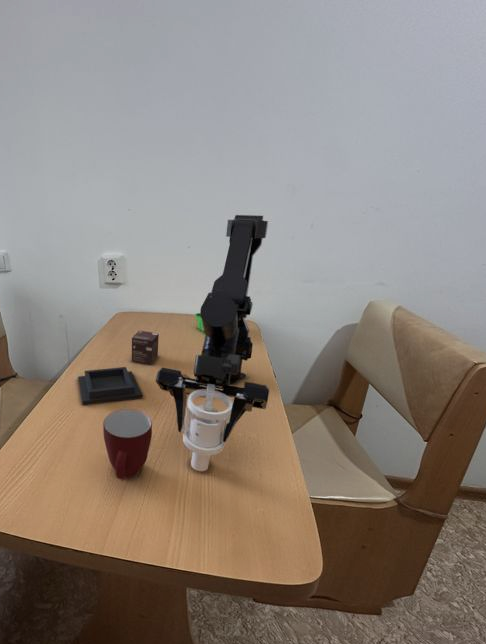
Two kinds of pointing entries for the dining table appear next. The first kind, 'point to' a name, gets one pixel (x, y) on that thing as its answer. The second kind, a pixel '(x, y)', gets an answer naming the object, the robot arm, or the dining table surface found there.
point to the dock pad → (108, 386)
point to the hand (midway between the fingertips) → (201, 436)
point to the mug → (127, 440)
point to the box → (145, 347)
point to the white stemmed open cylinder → (205, 427)
